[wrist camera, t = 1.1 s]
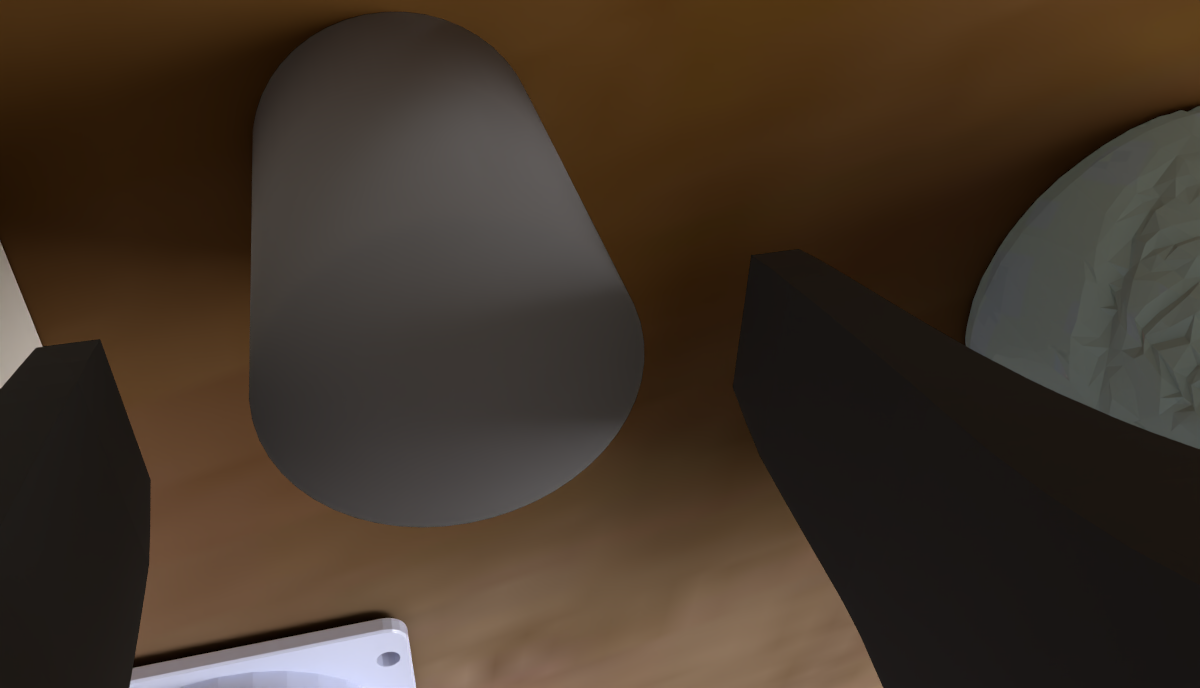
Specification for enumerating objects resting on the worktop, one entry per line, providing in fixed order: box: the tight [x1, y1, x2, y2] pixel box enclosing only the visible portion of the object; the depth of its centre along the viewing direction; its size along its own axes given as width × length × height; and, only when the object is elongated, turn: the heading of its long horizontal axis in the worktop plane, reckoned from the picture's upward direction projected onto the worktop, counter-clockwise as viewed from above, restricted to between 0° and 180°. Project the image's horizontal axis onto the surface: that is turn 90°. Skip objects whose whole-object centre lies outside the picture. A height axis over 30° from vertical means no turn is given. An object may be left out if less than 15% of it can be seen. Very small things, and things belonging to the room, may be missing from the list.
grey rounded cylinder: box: [249, 12, 644, 527], centre depth 13 cm, size 4×4×6 cm
